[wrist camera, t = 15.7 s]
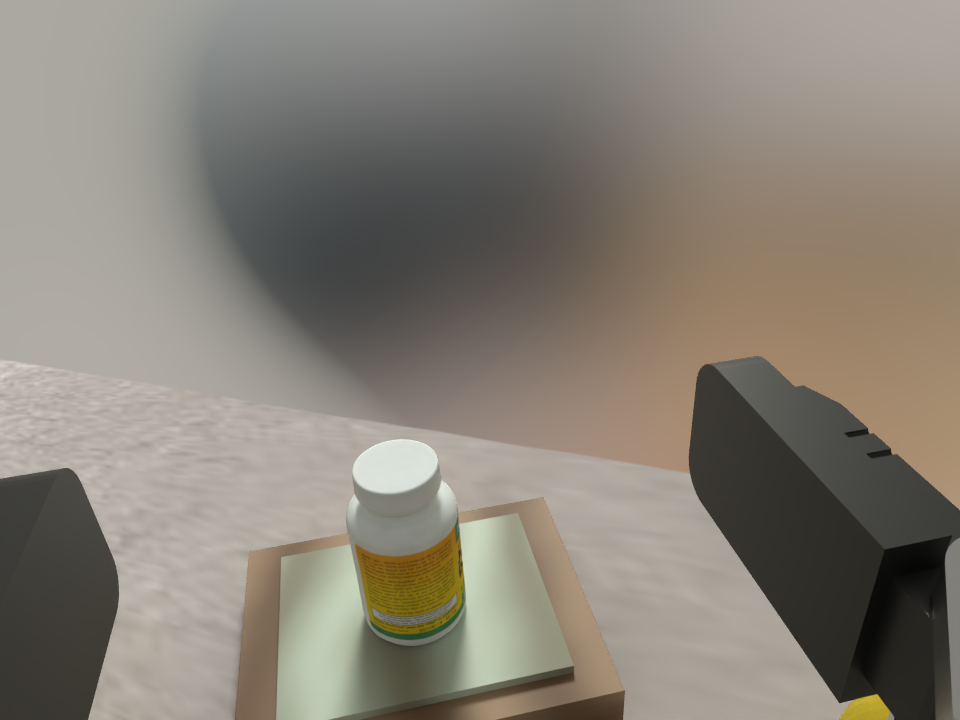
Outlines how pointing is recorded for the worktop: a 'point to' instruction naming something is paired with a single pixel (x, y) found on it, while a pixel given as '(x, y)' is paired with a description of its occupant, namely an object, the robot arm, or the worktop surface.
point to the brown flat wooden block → (439, 664)
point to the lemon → (866, 709)
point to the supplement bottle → (406, 543)
